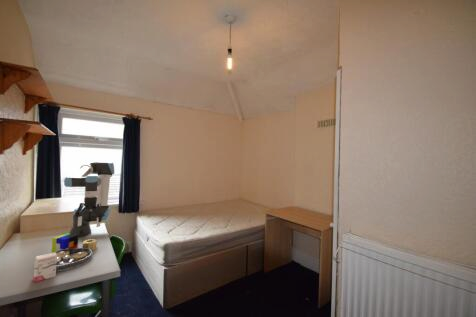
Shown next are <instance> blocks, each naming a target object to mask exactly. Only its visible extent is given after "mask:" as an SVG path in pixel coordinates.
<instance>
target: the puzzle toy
mask: <svg viewBox="0 0 476 317" xmlns="http://www.w3.org/2000/svg"><path fill="white" fill-rule="evenodd" d="M78 245H79V237H78V235H76V234H69V233H64V234H61V235H58V236H55V237H52V242H51V253H53V252H57V251H60V250H65V249H71V248H79V246H78Z"/></svg>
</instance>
